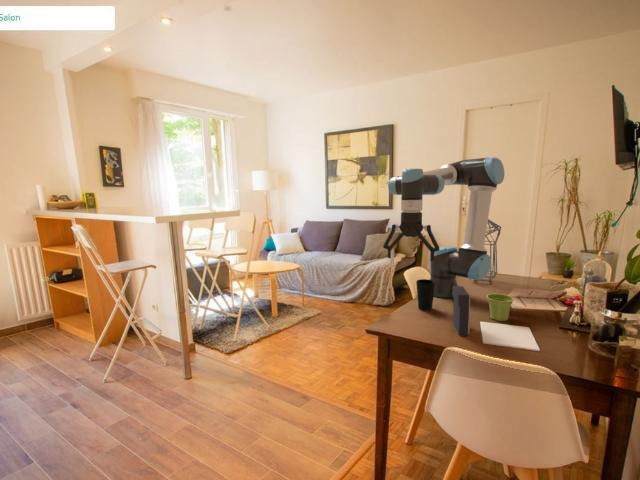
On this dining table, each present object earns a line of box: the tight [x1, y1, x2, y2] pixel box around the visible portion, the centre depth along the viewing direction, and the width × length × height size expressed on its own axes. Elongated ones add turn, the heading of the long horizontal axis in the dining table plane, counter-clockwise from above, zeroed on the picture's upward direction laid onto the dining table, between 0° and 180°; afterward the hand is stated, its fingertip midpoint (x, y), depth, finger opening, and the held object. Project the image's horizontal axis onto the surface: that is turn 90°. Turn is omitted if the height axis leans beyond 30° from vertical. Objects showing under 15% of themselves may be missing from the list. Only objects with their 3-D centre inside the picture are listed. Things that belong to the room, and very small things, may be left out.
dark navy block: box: [452, 285, 471, 337], centre depth 119 cm, size 11×4×15 cm, turn 168°
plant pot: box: [486, 293, 515, 322], centre depth 128 cm, size 9×9×9 cm
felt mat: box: [479, 321, 541, 352], centre depth 114 cm, size 18×16×1 cm
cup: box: [416, 278, 435, 312], centre depth 141 cm, size 8×8×12 cm
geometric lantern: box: [473, 218, 502, 285], centre depth 176 cm, size 16×16×35 cm
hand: (410, 268), depth 123 cm, fingers open, 13 cm apart
